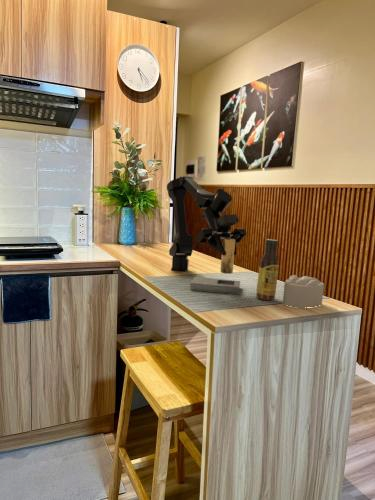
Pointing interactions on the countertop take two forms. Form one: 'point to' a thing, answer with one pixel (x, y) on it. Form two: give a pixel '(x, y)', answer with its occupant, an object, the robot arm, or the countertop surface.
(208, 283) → the plate
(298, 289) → the lumpy-topped squat cylinder
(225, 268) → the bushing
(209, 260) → the countertop surface
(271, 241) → the sauce bottle
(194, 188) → the robot arm
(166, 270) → the countertop surface
